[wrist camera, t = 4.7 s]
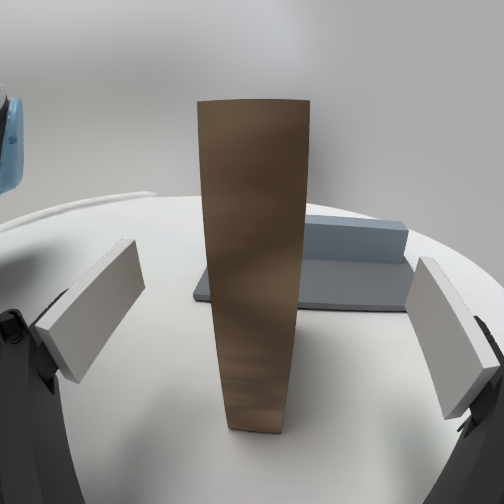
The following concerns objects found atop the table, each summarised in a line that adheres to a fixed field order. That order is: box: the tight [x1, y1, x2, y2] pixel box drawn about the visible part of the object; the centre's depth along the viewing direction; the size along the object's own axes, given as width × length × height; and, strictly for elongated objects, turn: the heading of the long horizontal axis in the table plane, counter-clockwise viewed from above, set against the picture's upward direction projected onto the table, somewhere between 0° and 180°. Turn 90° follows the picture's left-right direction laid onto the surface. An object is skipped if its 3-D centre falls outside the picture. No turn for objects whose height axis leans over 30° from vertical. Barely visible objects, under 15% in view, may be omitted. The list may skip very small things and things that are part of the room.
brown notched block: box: [197, 99, 310, 433], centre depth 15 cm, size 3×10×16 cm, turn 172°
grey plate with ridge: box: [193, 215, 415, 311], centre depth 31 cm, size 22×18×5 cm
